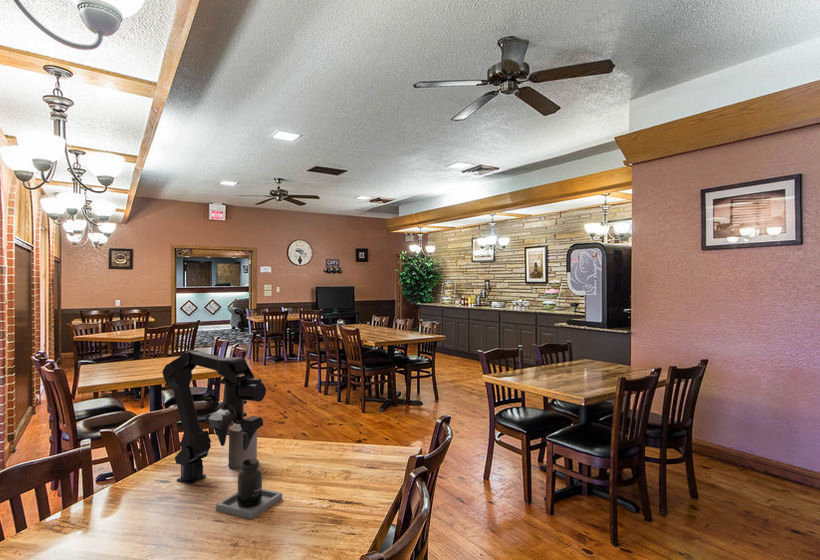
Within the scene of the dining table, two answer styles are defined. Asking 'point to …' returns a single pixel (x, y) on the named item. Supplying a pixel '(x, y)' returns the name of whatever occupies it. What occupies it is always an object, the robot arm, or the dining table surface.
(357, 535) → the dining table surface
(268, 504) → the tray
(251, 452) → the pillar candle
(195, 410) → the robot arm
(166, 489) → the dining table surface
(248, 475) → the supplement bottle
